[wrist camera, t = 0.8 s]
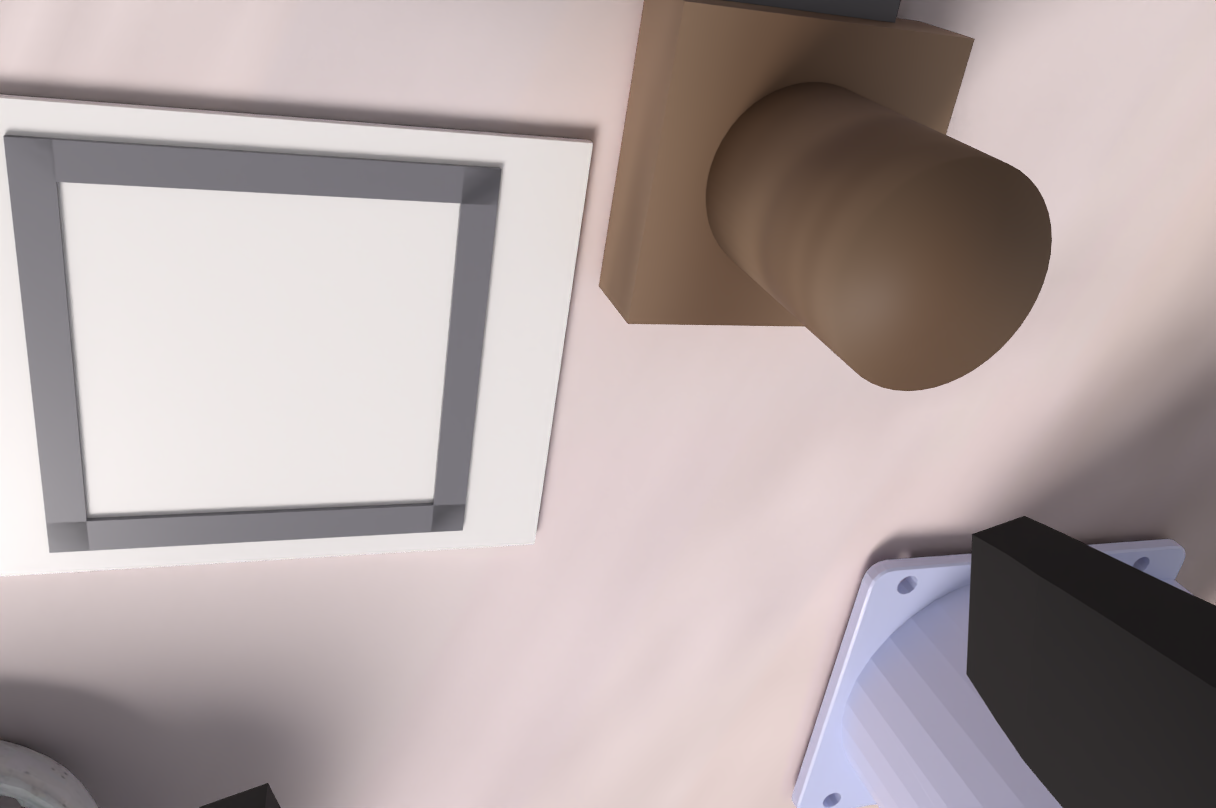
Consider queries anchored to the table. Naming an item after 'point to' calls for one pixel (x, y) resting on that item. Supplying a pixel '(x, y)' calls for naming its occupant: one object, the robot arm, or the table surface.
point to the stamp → (818, 191)
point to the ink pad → (839, 7)
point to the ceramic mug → (39, 780)
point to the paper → (274, 334)
